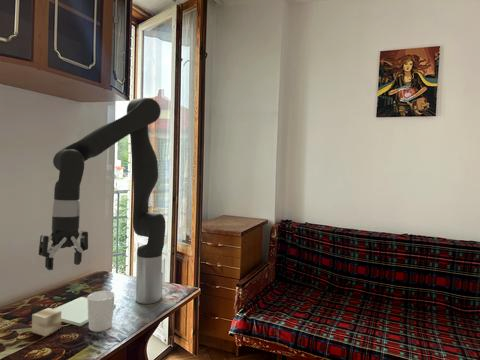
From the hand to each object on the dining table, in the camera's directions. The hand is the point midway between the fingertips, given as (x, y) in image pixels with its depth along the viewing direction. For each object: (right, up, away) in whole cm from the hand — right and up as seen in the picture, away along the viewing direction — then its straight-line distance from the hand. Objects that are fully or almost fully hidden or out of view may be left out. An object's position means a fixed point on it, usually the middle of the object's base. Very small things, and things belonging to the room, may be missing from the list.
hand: (63, 266), depth 105 cm
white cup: (+10, -20, +2) cm, 22 cm away
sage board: (-1, -19, +12) cm, 22 cm away
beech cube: (-5, -19, -1) cm, 20 cm away
